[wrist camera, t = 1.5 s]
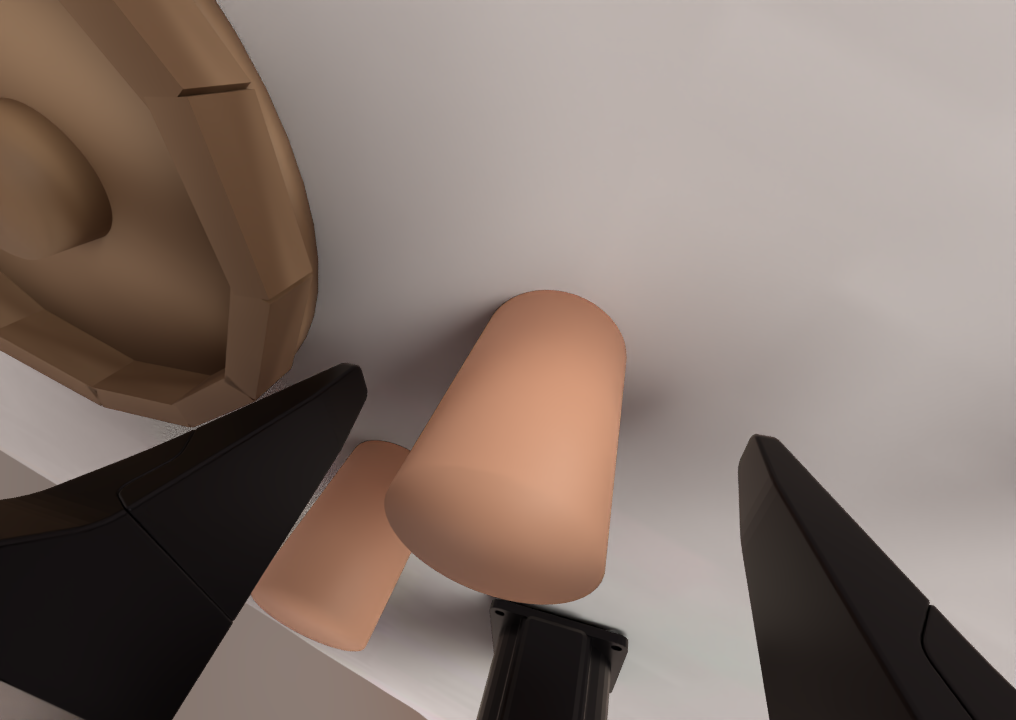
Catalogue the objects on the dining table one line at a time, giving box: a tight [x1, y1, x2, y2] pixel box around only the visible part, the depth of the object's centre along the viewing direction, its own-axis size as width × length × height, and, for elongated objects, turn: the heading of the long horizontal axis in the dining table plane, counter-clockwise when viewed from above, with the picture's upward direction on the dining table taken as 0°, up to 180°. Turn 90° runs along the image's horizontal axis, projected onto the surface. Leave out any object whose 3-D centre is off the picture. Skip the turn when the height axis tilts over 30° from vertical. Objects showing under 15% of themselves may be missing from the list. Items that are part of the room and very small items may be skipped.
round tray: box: [0, 0, 318, 427], centre depth 11 cm, size 15×15×2 cm
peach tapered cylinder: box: [251, 440, 411, 651], centre depth 15 cm, size 4×4×6 cm
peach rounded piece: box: [384, 290, 627, 605], centre depth 9 cm, size 4×4×6 cm
